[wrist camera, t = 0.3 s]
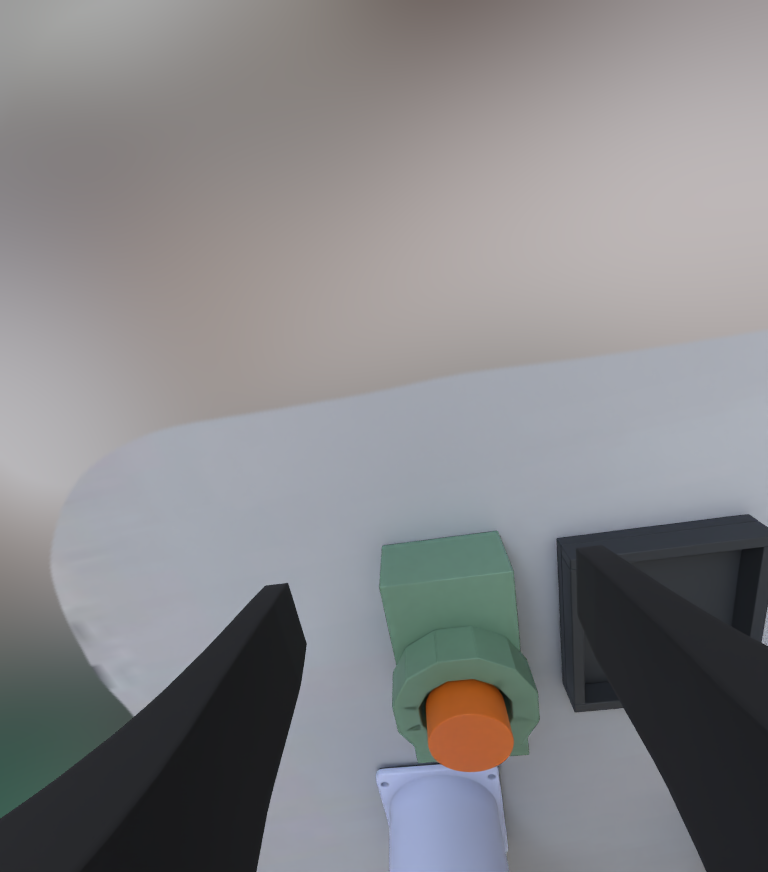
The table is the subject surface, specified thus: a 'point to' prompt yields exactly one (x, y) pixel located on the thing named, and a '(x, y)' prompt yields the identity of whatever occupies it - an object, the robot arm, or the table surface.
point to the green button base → (454, 629)
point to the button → (468, 726)
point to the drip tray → (668, 586)
